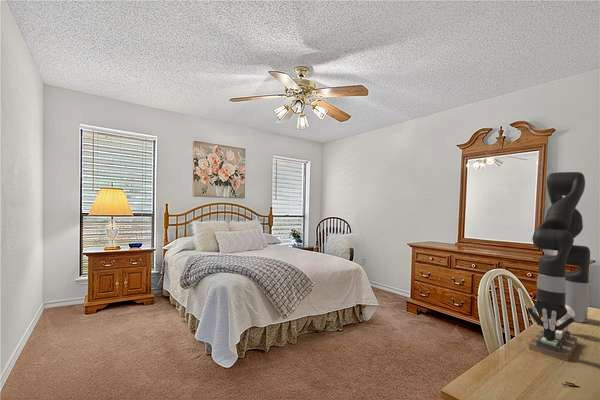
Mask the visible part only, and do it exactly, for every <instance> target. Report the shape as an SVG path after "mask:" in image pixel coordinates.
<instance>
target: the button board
mask: <svg viewBox="0 0 600 400" xmlns="http://www.w3.org/2000/svg"><path fill="white" fill-rule="evenodd" d="M542 337H544V328H542V329H541V330H540V331H539V332H538V333H537V334H536V335H535V336H534V337H533V339H531V341H530V342H529V343H528V350H531V351H534V352H538V353H541V354H544V355H547V356H551V357H554V358H557V359H560V360H563V361H566V362H568V361H569V359H570V357H571V356H572V354H573V352H574V350H575V348H576V346H577V345H578V337H574V336H572V335H571V331H569V330H568V331H566V333H565V334H563V337H562V338H561V340H560V339H556V338H555V340H557V341H558V346H557V347H556V346H553V345H550V344H546V343H543V342H541V339H542Z"/></svg>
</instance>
